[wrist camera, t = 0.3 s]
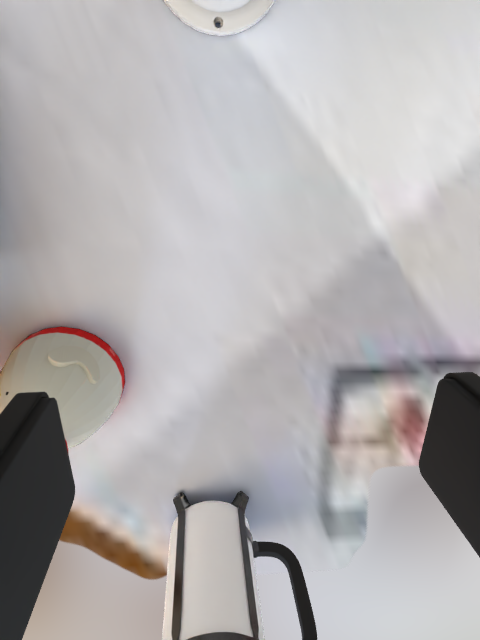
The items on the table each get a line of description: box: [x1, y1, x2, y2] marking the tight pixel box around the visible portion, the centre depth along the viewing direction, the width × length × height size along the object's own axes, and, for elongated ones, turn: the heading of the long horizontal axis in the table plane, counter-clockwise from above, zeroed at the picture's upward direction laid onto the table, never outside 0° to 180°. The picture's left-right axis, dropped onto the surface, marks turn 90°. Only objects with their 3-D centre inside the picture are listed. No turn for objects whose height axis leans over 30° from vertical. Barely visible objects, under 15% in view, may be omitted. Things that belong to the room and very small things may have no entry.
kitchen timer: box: [0, 327, 125, 451], centre depth 41 cm, size 14×14×15 cm
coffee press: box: [162, 491, 317, 640], centre depth 46 cm, size 17×16×30 cm
